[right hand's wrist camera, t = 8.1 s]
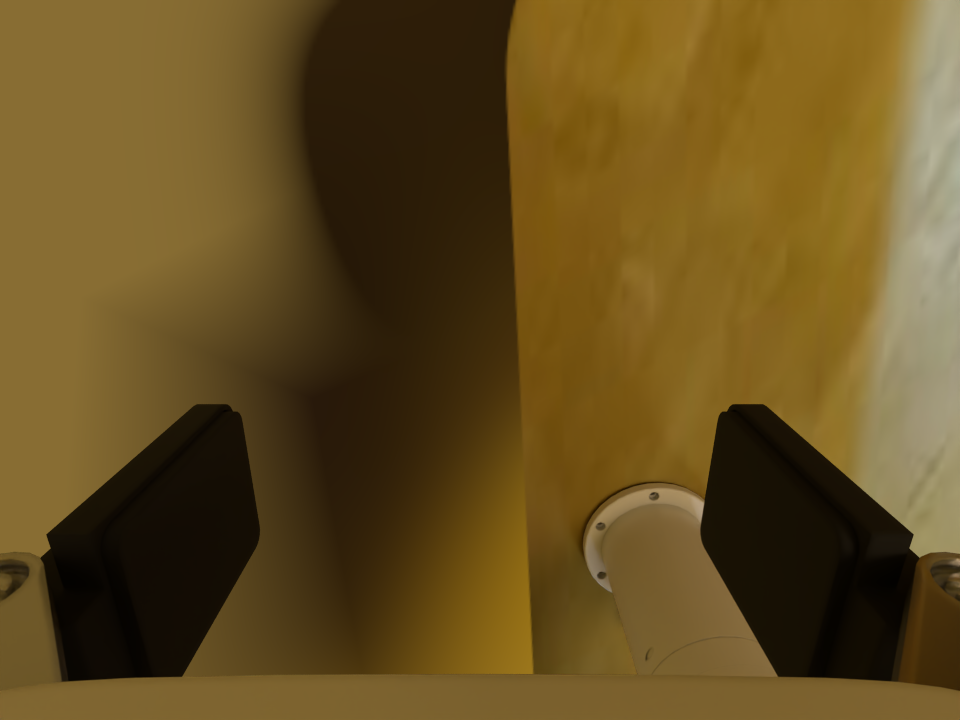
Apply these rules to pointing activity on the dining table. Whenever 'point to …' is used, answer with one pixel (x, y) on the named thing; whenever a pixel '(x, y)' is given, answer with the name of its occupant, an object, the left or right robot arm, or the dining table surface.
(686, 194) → the dining table surface
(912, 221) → the dining table surface
